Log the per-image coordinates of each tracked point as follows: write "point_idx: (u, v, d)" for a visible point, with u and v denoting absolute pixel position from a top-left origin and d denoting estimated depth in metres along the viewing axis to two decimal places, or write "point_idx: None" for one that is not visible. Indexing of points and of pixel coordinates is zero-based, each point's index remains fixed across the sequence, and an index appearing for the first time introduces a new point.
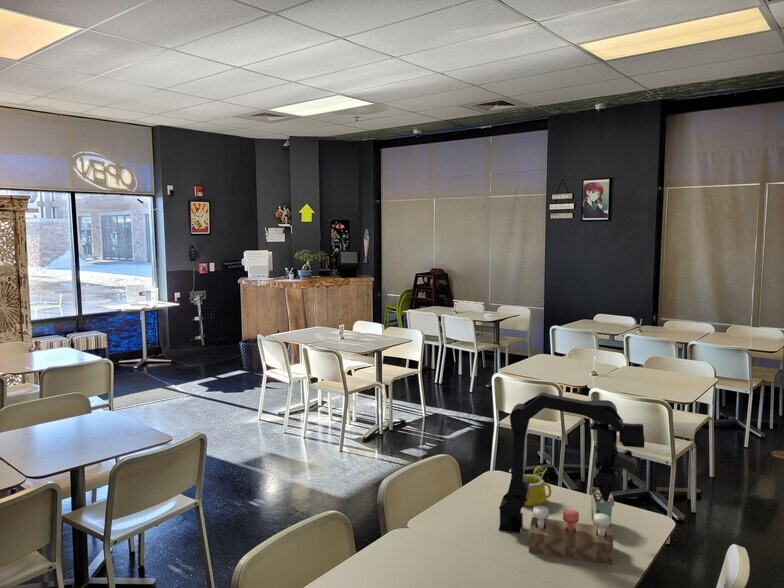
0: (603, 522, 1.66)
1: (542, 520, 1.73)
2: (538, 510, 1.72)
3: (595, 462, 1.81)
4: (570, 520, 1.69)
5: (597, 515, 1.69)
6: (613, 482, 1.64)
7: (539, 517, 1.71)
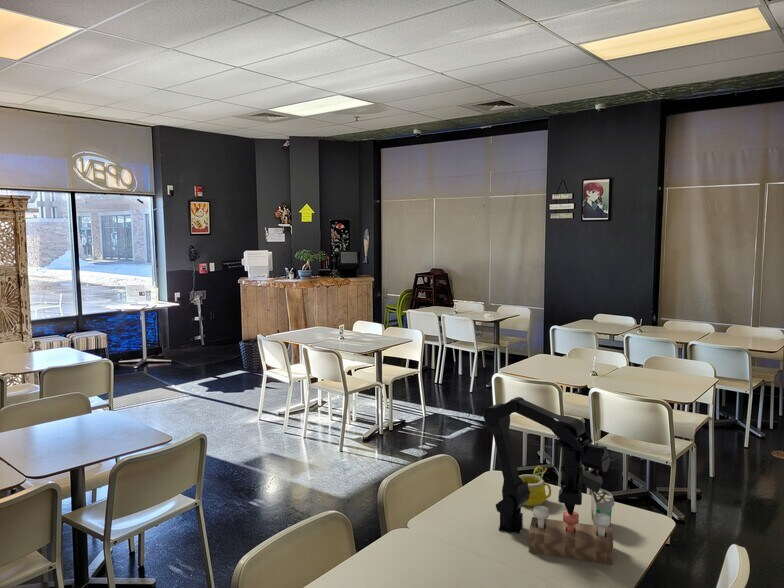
0: (603, 522, 1.66)
1: (542, 520, 1.73)
2: (538, 510, 1.72)
3: (561, 486, 1.73)
4: (570, 521, 1.69)
5: (597, 515, 1.69)
6: (576, 502, 1.60)
7: (539, 517, 1.71)
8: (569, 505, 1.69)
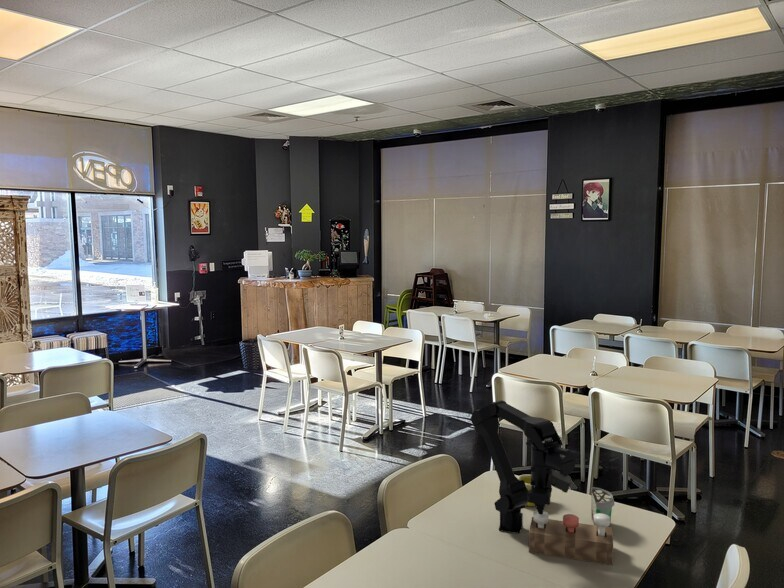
0: (603, 522, 1.66)
1: (542, 525, 1.73)
2: (538, 515, 1.73)
3: (532, 486, 1.76)
4: (570, 525, 1.69)
5: (597, 515, 1.69)
6: (544, 502, 1.63)
7: (539, 522, 1.72)
8: (539, 505, 1.72)
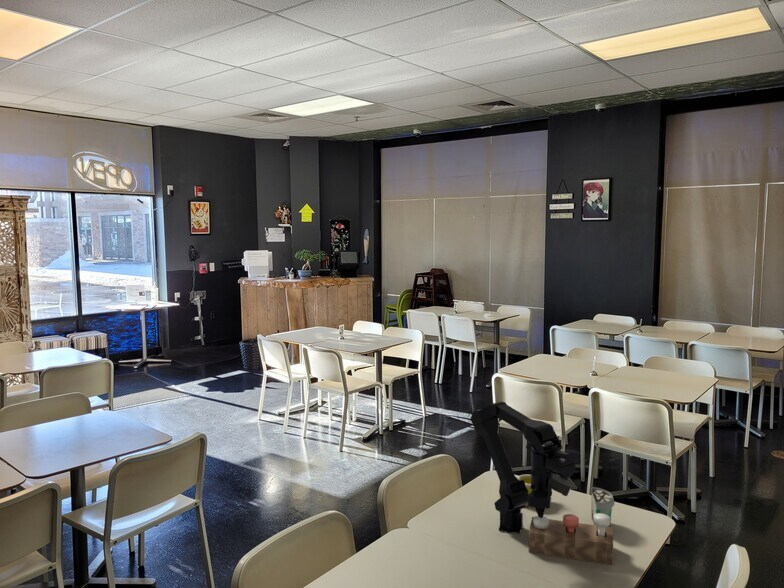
0: (603, 522, 1.66)
1: None
2: (538, 520, 1.73)
3: (532, 489, 1.76)
4: (570, 525, 1.69)
5: (597, 515, 1.69)
6: (545, 506, 1.63)
7: (539, 527, 1.72)
8: (539, 508, 1.72)
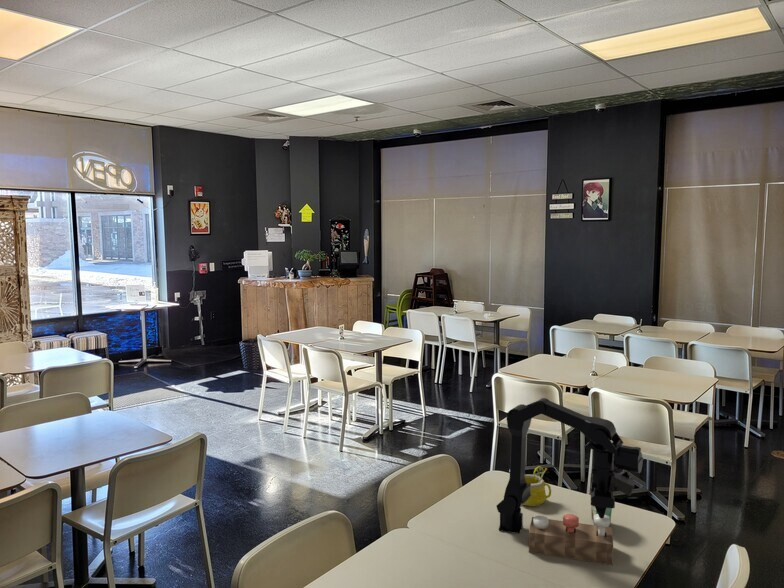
0: (603, 523, 1.66)
1: None
2: (538, 520, 1.73)
3: (591, 489, 1.71)
4: (570, 525, 1.69)
5: (597, 515, 1.69)
6: (609, 506, 1.58)
7: (539, 527, 1.72)
8: (600, 508, 1.66)
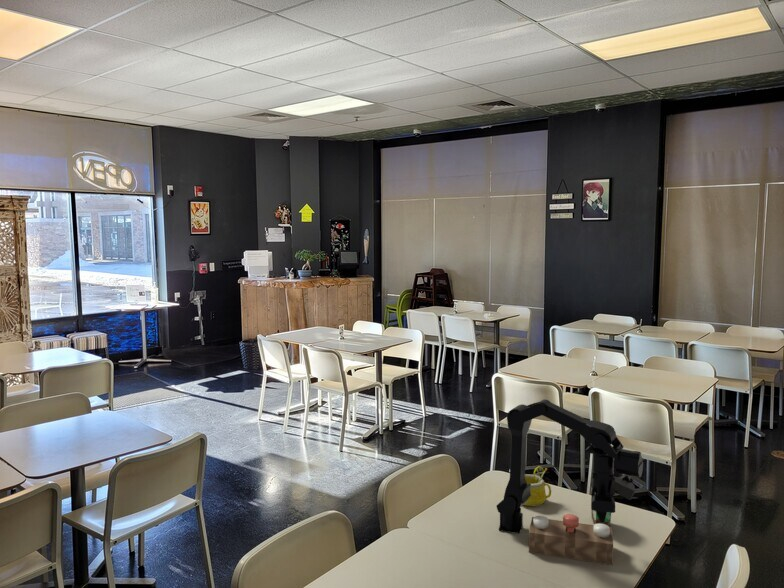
0: (603, 532, 1.66)
1: None
2: (538, 520, 1.73)
3: (592, 493, 1.71)
4: (570, 525, 1.69)
5: (597, 525, 1.69)
6: (610, 510, 1.58)
7: (539, 527, 1.72)
8: (601, 512, 1.66)
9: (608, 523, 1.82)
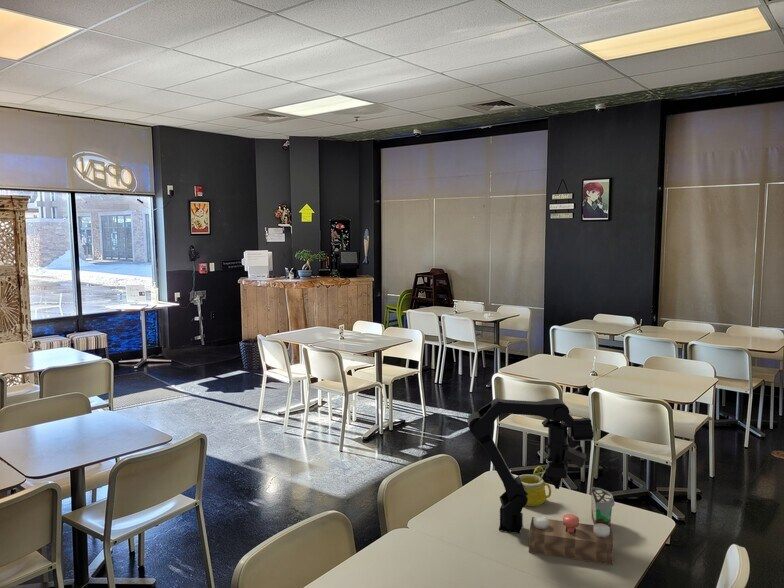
0: (603, 532, 1.66)
1: None
2: (538, 520, 1.73)
3: (548, 462, 1.86)
4: (570, 525, 1.69)
5: (597, 525, 1.69)
6: (562, 476, 1.73)
7: (539, 527, 1.72)
8: (556, 480, 1.82)
9: (608, 523, 1.82)
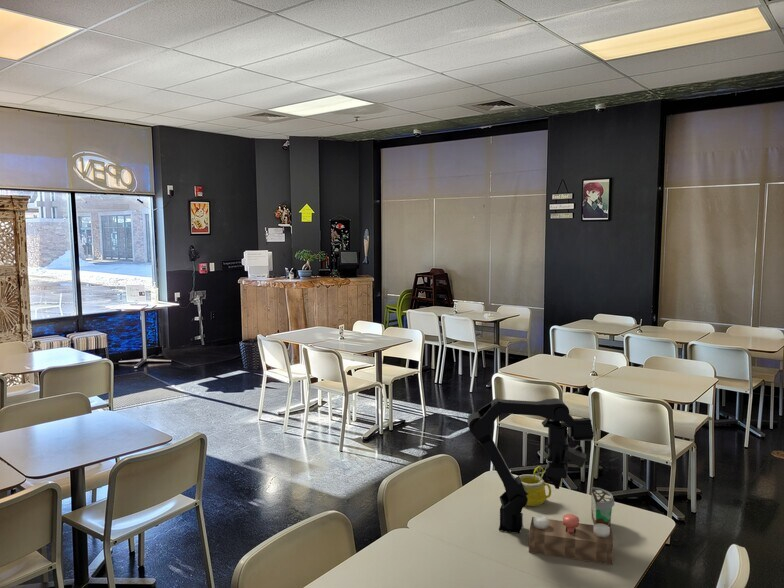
0: (603, 532, 1.66)
1: None
2: (538, 520, 1.73)
3: (548, 462, 1.86)
4: (570, 525, 1.69)
5: (597, 525, 1.69)
6: (562, 476, 1.73)
7: (539, 527, 1.72)
8: (556, 480, 1.82)
9: (608, 523, 1.82)
